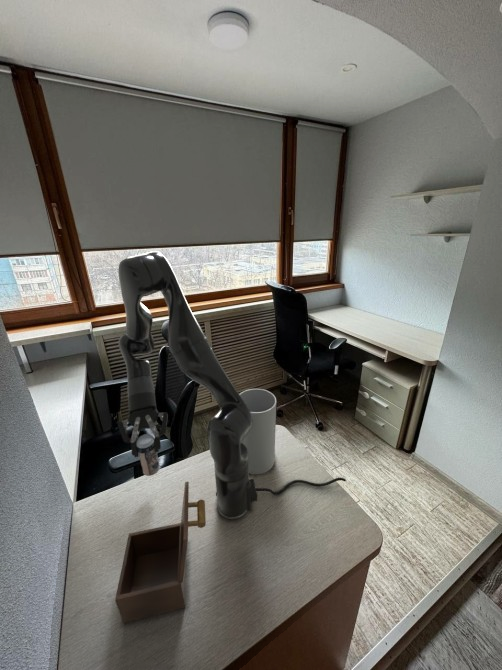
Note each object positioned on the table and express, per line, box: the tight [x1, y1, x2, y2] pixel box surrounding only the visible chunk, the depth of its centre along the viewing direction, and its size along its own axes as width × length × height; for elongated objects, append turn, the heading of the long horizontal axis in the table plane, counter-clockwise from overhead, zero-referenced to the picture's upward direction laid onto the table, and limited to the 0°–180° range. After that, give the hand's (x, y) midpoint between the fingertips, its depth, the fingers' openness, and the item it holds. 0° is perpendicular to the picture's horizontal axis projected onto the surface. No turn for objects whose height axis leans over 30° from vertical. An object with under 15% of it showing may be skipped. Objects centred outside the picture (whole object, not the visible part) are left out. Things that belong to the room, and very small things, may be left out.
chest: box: [114, 522, 187, 624], centre depth 60 cm, size 12×12×9 cm
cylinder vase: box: [239, 388, 277, 475], centre depth 88 cm, size 12×12×25 cm
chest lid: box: [179, 481, 207, 583], centre depth 58 cm, size 13×12×4 cm
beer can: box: [136, 433, 161, 477], centre depth 77 cm, size 5×5×12 cm
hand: (147, 454), depth 75 cm, fingers closed on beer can, 4 cm apart
